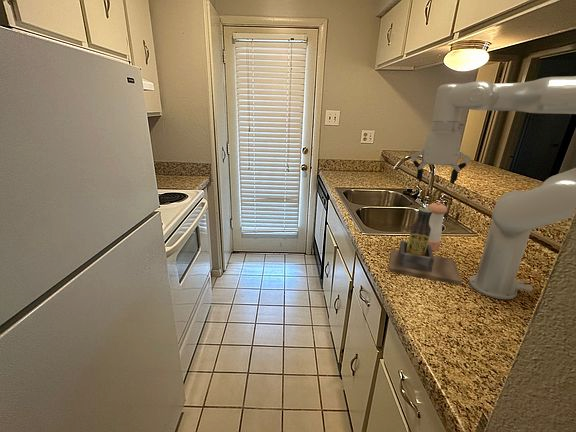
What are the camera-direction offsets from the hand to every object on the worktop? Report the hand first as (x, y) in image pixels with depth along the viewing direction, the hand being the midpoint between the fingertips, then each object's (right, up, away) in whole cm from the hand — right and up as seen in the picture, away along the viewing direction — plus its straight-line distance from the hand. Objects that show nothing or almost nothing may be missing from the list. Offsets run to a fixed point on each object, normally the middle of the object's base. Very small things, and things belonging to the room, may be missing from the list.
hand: (435, 182), depth 95 cm
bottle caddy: (0, -29, +9) cm, 31 cm away
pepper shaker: (+10, -24, +25) cm, 36 cm away
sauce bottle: (-3, -28, +9) cm, 29 cm away
